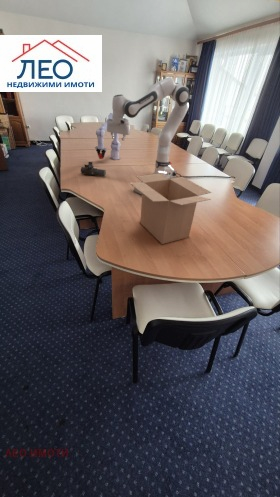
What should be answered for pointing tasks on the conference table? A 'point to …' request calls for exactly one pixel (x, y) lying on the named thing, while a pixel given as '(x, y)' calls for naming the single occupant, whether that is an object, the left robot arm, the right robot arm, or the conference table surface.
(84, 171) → the laser sight
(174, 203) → the box
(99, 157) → the canister
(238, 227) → the conference table surface
